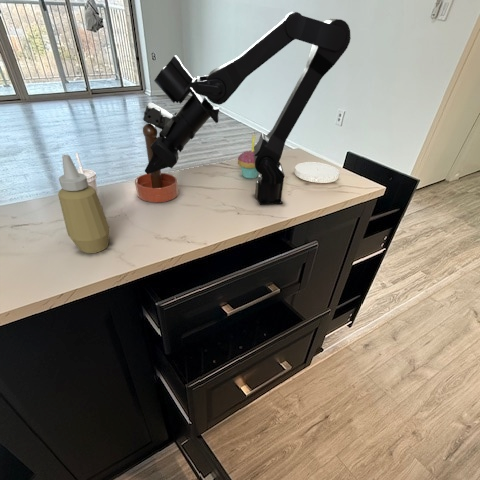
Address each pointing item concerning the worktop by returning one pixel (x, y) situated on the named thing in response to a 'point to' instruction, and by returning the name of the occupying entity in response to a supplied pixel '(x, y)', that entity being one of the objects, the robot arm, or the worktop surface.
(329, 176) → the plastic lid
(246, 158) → the cupcake
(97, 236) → the squeeze bottle
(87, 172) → the smoothie
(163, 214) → the worktop surface
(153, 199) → the bowl
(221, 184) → the worktop surface
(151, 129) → the muddler
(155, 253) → the worktop surface
